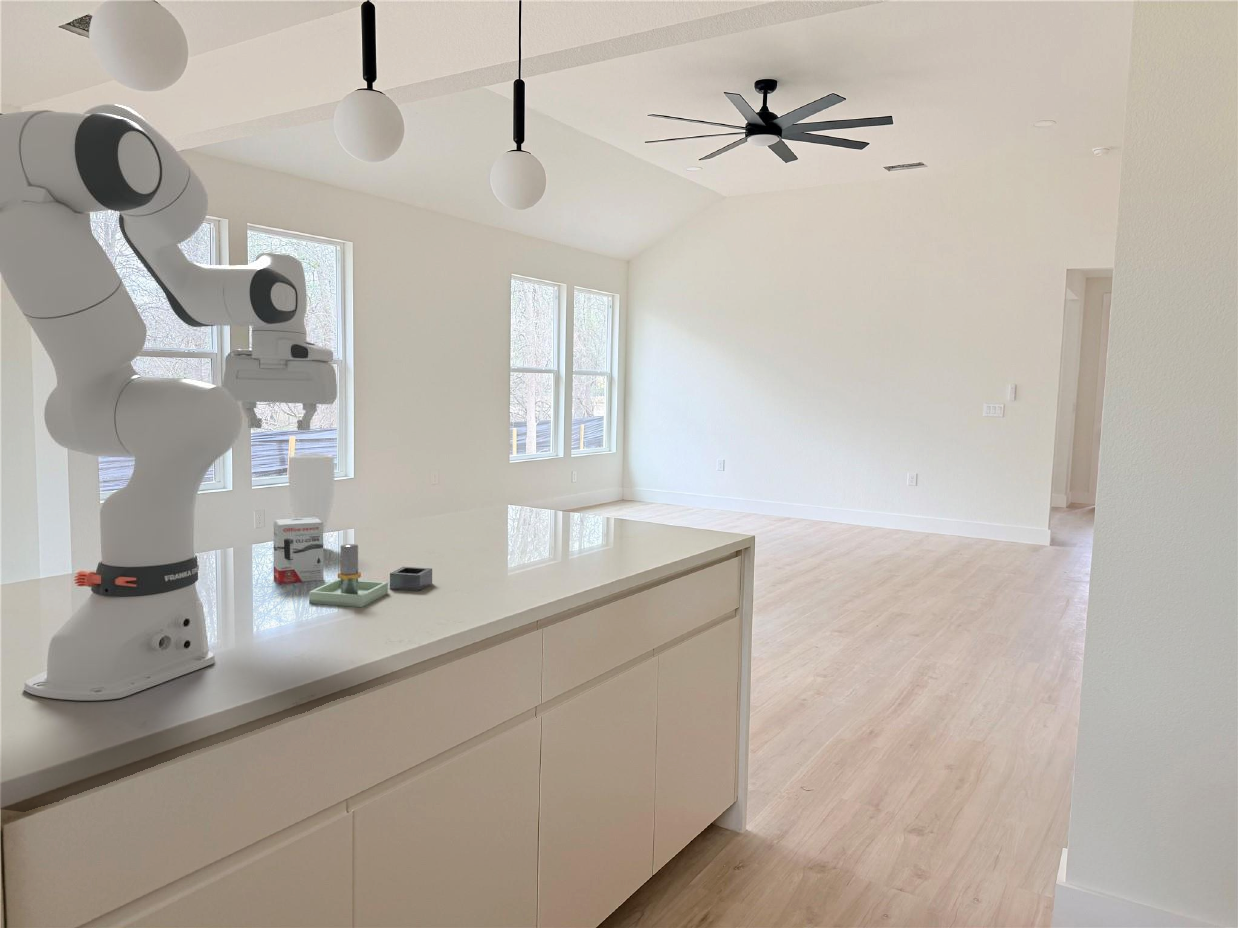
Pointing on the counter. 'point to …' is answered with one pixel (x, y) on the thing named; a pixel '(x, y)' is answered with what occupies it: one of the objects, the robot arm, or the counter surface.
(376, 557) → the counter surface
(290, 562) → the ink box
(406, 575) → the socket block
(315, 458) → the cup
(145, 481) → the robot arm
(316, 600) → the tray
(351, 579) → the pin
